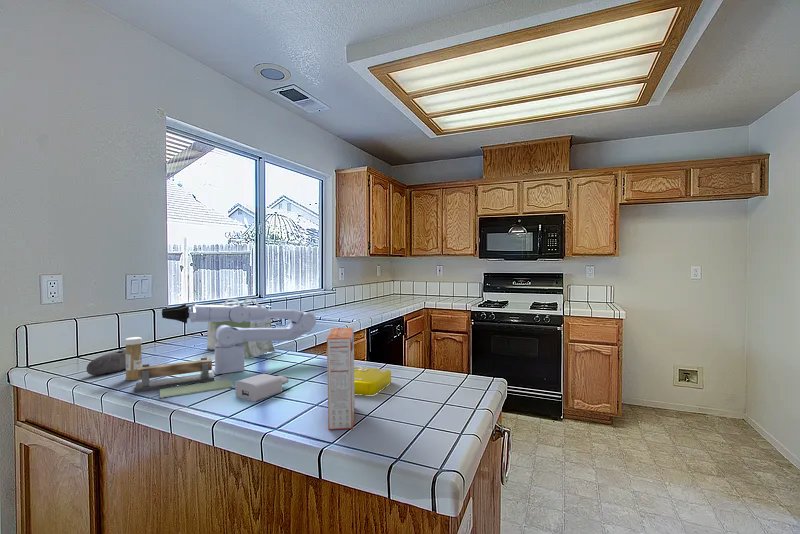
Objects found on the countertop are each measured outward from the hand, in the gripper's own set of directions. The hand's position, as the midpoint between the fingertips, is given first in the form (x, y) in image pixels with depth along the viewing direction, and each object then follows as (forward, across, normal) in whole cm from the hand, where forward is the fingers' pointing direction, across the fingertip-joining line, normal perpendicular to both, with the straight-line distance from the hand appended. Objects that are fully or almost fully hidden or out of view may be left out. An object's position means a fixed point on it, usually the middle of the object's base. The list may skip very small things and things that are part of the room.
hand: (162, 313), depth 125 cm
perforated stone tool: (+13, -20, +23) cm, 33 cm away
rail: (-5, +7, +18) cm, 20 cm away
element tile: (-52, +42, +19) cm, 70 cm away
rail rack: (-5, +7, +21) cm, 23 cm away
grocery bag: (-31, -32, +20) cm, 49 cm away
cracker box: (-37, +61, +19) cm, 74 cm away
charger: (-27, +31, +20) cm, 46 cm away
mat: (-10, +17, +21) cm, 29 cm away
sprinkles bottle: (+6, -6, +22) cm, 24 cm away
